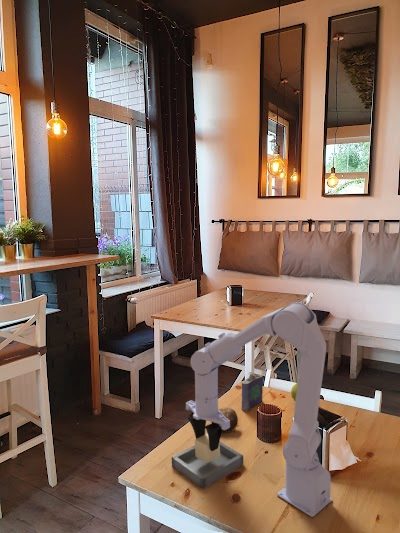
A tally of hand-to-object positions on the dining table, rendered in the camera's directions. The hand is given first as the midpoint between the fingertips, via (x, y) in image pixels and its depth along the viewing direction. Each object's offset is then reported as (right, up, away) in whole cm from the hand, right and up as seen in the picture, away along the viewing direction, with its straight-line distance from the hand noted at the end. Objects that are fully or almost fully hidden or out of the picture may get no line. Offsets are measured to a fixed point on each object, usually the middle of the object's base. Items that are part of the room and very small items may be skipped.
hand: (207, 444), depth 103 cm
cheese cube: (0, -3, 0) cm, 3 cm away
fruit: (+33, -1, +34) cm, 48 cm away
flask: (+16, -2, +33) cm, 36 cm away
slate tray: (0, -6, +1) cm, 6 cm away
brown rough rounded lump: (+6, -4, +19) cm, 20 cm away
